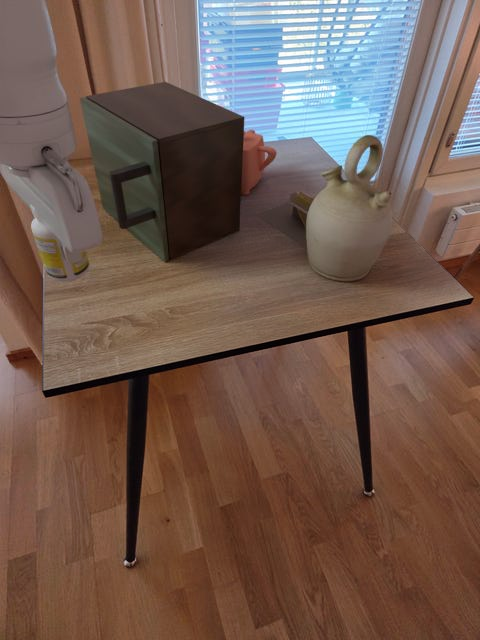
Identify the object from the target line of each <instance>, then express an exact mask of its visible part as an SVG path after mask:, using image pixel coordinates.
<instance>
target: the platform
mask: <svg viewBox="0 0 480 640" xmlns="http://www.w3.org/2000/svg"><path fill="white" fill-rule="evenodd" d="M314 199H315V198H312V196H309V195H307V194H306V193H304V192H302V191H301V190H300V191H299V193H298V192H296V191H295V192H292V193H290V195H289V198H288V202H285V203H282V204H279V205H276V206H274V207H272V208H268V209H266V210H263V211H260V212H257V213H256V215H257V216H258V217H259V218H261V219H262V220H264V222H266V223H268V224H269V225H270V226H272V227H274V228H275V229H277V230H278V231H279V232H281V233H282V234H284V235H285V236H286V237H288V238H289V239H291V240H292V241H294V242H295V243H296V244H298V245H299V246H300V247H302V248H304V249H305V250H306V251H307V241H306V220H307V214H308V211H309V208H310V206H311V204H312V202H313V200H314Z"/></svg>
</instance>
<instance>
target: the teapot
mask: <svg viewBox="0 0 480 640" xmlns="http://www.w3.org/2000/svg"><path fill="white" fill-rule="evenodd" d="M266 153H267V157H266ZM276 157H277V150H276V149H275V148H273V147H271V146H265V142H264V136H263V135H262V134H259V133H256V131H255V130H254V129H248V130H247V131H245V130H244V141H243V163H242V186H241V195H244V196H245V195H246V196H247V195H249V194H250V190H251V189H253V188H254V187H255V186H256V185H257V184H258V183H259V181H260V180H261V178H262V176H263V174H264V171H265V168H267V167H268V166H269V165H270V164H272V163H273V162H274V160H275V159H276Z"/></svg>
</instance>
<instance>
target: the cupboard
mask: <svg viewBox="0 0 480 640" xmlns="http://www.w3.org/2000/svg"><path fill="white" fill-rule="evenodd" d="M85 98H87V99H88V100H90V101H92V102H93V103H95V104H97V105H98V106H100V107H102V108H103V109H105V110H107V111H109V112H110V113H112V114H114V115H115V116H117V117H119V118H120V119H122V120H124V121H126V122H127V123H129V124H131V125H132V126H134V127H136V128H137V129H139V130H141V131H142V132H144V133H146V134H148V135H149V136H151V137H153V138H154V139H156V140H157V141H158V151H159V162H160V172H161V182H162V192H163V202H164V213H165V223H166V233H167V243H168V253H169V261H172V260H175V259H177V258H179V257H182V256H184V255H187V254H188V253H191V252H193V251H196V250H198V249H200V248H203V247H205V246H207V245H210V244H212V243H214V242H216V241H219V240H222V239H224V238H226V237H228V236H231V235H233V234H235V233H238V232H240V230H241V229H240V227H241V206H242V194H241V186H242V163H243V141H244V131H245V116H243V115H241V114H239V113H237V112H234V111H232V110H230V109H228V108H226V107H224V106H221V105H219V104H217V103H215V102H212V101H210V100H207V99H206V98H203V97H200V96H199V95H197V94H195V93H193V92H190V91H187V90H186V89H183V88H181V87H178V86H176V85H174V84H173V83H169V82H167V81H161V82H156V83H151V84H145V85H140V86H139V85H138V86H135V87H128V88H124V89H117V90H112V91H108V92H106V91H105V92H100V93H96V94H90V95H89V94H88V95H85Z"/></svg>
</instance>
